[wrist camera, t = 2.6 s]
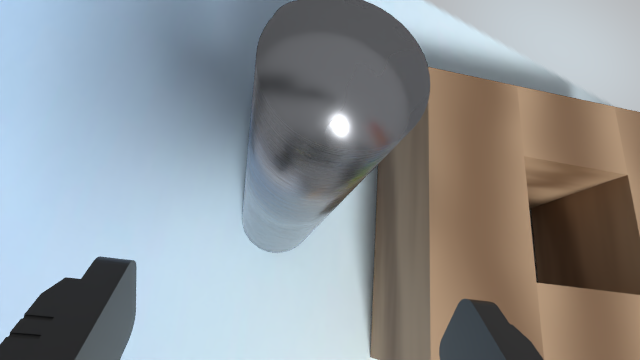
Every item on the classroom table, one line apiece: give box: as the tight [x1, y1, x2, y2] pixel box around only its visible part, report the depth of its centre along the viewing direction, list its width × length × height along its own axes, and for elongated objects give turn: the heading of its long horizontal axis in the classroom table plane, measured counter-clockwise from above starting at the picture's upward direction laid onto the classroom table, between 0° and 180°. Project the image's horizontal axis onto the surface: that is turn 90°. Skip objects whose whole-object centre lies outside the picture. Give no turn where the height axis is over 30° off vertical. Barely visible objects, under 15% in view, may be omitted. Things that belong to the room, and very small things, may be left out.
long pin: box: [242, 0, 430, 253], centre depth 16 cm, size 4×4×15 cm
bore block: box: [370, 67, 640, 360], centre depth 22 cm, size 16×14×7 cm
